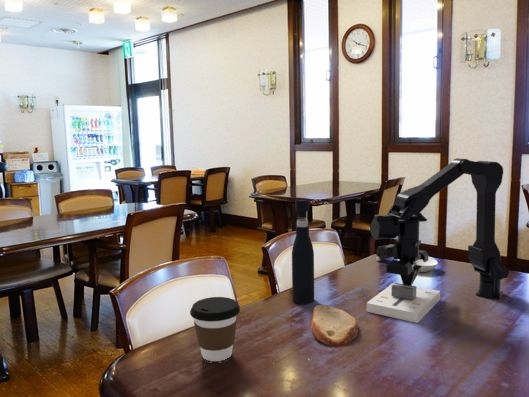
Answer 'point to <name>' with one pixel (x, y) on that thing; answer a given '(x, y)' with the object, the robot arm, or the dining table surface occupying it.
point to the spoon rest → (423, 264)
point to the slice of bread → (333, 326)
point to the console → (404, 304)
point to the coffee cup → (215, 326)
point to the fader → (403, 291)
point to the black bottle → (302, 258)
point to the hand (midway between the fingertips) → (407, 290)
